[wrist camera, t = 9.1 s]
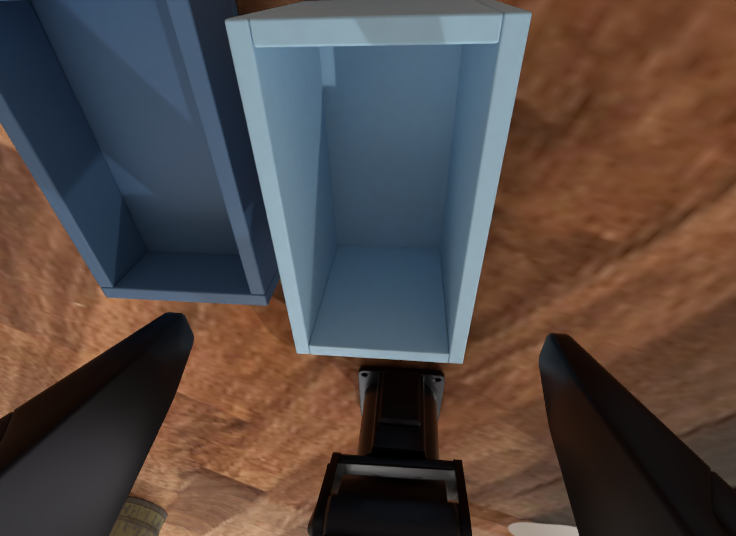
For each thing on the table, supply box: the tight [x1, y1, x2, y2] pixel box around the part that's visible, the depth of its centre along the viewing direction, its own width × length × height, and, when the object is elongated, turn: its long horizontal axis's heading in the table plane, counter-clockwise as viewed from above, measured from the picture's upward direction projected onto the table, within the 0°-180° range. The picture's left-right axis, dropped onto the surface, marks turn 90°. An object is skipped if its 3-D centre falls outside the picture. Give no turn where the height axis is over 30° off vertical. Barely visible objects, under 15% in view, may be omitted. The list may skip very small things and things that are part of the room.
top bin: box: [225, 0, 532, 364], centre depth 15 cm, size 12×7×8 cm, turn 2°
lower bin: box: [0, 0, 280, 306], centre depth 18 cm, size 14×9×4 cm, turn 1°
